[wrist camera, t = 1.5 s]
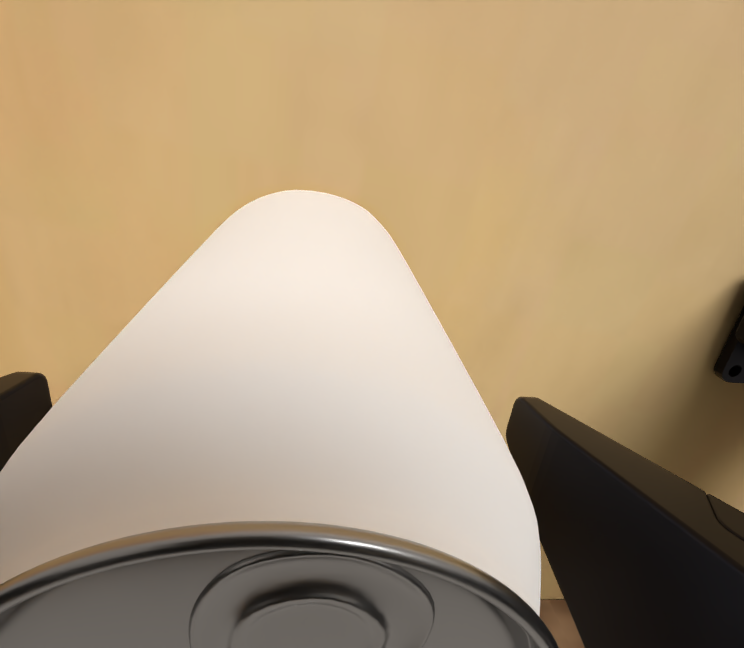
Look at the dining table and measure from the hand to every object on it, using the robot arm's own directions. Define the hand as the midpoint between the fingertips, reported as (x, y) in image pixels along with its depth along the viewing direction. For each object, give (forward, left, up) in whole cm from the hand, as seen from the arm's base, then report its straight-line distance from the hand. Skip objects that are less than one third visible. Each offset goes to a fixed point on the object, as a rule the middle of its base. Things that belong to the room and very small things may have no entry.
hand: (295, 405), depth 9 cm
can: (0, 0, -7) cm, 7 cm away
